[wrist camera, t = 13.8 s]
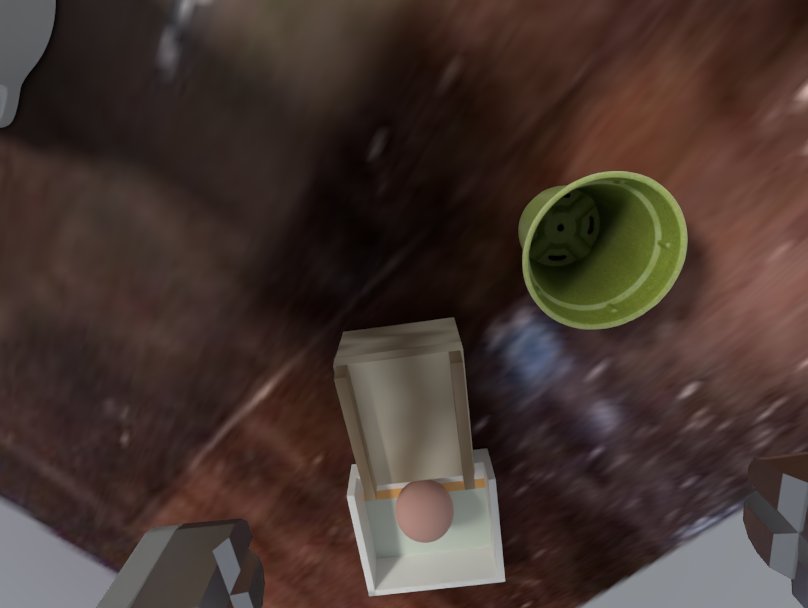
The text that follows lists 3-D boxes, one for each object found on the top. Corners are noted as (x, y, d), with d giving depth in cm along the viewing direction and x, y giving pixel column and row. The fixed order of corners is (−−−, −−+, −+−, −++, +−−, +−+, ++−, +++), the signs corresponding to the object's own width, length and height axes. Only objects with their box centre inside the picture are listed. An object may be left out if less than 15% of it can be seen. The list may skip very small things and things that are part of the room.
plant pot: (617, 282, 37) (678, 324, 29) (496, 292, 37) (523, 336, 29) (626, 157, 34) (697, 164, 26) (494, 168, 34) (523, 179, 26)
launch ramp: (368, 458, 42) (361, 521, 35) (343, 330, 38) (329, 374, 31) (468, 445, 42) (481, 507, 35) (453, 316, 38) (465, 356, 31)
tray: (372, 558, 46) (369, 596, 42) (351, 464, 42) (346, 496, 39) (496, 544, 46) (505, 581, 42) (487, 448, 42) (495, 478, 38)
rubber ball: (392, 472, 43) (389, 499, 38) (447, 465, 42) (451, 492, 37) (400, 524, 43) (398, 559, 38) (455, 518, 43) (459, 552, 38)
